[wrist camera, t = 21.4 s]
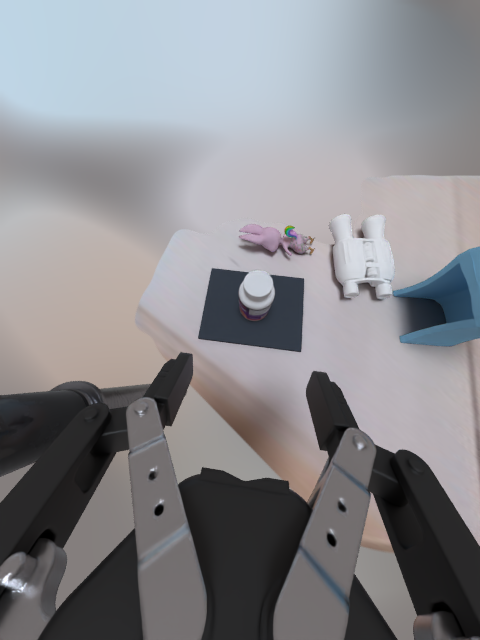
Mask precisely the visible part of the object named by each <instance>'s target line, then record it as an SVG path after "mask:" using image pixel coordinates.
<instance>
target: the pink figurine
mask: <svg viewBox="0 0 480 640" xmlns="http://www.w3.org/2000/svg"><path fill="white" fill-rule="evenodd" d="M294 228H295V227H293V226H287V227H286V228H285V234H284V236H283V237H282V238H281V234H280V232H279V231H278V230H277V229H275V228H272V227H266V228H263V227H261V226H260V225H256V224H249V225H246V226H244V227H243V228H241V229H240V230H239V231H240V232H245V233H251V234H246V235H241V236H239V238H241V239H244V240H247V241H250V242H253V243H255V244H258V245H262V246H263V247H264V248H266V249H268V250H270V251H271V252H274V251H276V250H277V248H278V245H279V244H282V246H283V248H284V249H285V251H286V252H287V253H288V254H289V255H290V256H291V255H292V253H291V252H290V251H289V250H288V248H287V247H290V248H292V249H293V250H294V251H296V252H297V253H299V254H302V253H304V252H305V251H307V250H309V249H310V250H311V252H310V253H311V255H312V252H313V251H314V249H315V248H314V249H312V248H311V247H307V246H306V245H304V244H305V243H306V242H307V241H308V240H309V239H311V242H310V243H312V242H313V240H314V239H312V238H311V237H310V236H309V237H305V236H303V235H301V234H296V232H295V231H293V229H294ZM254 234H255V235H254ZM288 237H292V238H288Z"/></svg>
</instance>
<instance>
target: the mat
mask: <svg viewBox="0 0 480 640" xmlns="http://www.w3.org/2000/svg"><path fill="white" fill-rule="evenodd" d="M248 273H249V272H240V271H231V270H222V269H213V268H212V271H211V276H210V281H209V286H208V291H207V296H206V301H205V306H204V311H203V316H202V321H201V326H200V331H199V336H198V338H199V339H206V340H213V341H221V342H229V343H236V344H244V345H252V346H259V347H267V348H275V349H282V350H290V351H298V352H301V345H302V321H303V296H304V279H303V278H294V277H285V276H276V275H270V276H271V278H272V280H273V286H274V289H275V296H274V300H273V302H272V304H271V307H270V309H269V311H268V313H267V315H266V316H265V317H264V318H263V319H261V320H258V321H251V320H248V319H246V318H245V317H244V316H243V315H242V314H241V312H240V307H239V288H240V285H241V284H242V282H243V281H244V278H245V277H246V275H247V274H248Z"/></svg>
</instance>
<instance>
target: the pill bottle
mask: <svg viewBox="0 0 480 640" xmlns="http://www.w3.org/2000/svg"><path fill="white" fill-rule="evenodd" d="M274 296H275V289H274V286H273V280H272V278H271V276H270V275H269V274H268V273H267V272H265V271H262V270H254V271H251V272H249V273H248V274H247V275H246V277H245V278H244V281H243V282H242V284H241V285H240V288H239V307H240V312H241V314H242V315H243V316H244V317H245V318H246V319H248V320H251V321H258V320H261V319H263V318H264V317H265V316H266V315H267V313H268V311H269V309H270V307H271V304H272V302H273V300H274Z"/></svg>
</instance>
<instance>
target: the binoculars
mask: <svg viewBox="0 0 480 640" xmlns="http://www.w3.org/2000/svg"><path fill="white" fill-rule="evenodd" d="M351 220H352V219H351V216H350V215H348V214H342V215H339V216H337V217H335V218H334V219H332V220H331V222H330V224H329V229H330V231H331V232H332V234H333V237H334V240H335V245H334V247H333V257H334V265H335V274H336V278H337V280H338V281H339V282H340V283H341V284H342V285H343V291H344V297H346V298H352V297H356V296H358V295H359V291H358V285H357V284H359V283H364V282H369V284H370V285H371V286H372V287H375V288H376V289H375V291H376V295H377V298H378V299H384V298H389V297H391V296H393V293H392V287H391V285H390V283H391V281H392V279H393V278H394V275H395V268H394V261H393V256H392V252H391V247H390V244H389V242H388V241H387V240H385V238H384V225H385V222H386V219H385V217H384V216H383V215H374V216H371V217H369V218H367V219H365V220H364V221H363V222H362V224H361V230H362V231H363V234H364V238H353V235H352V229H351ZM365 274H366V278H365Z"/></svg>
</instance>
